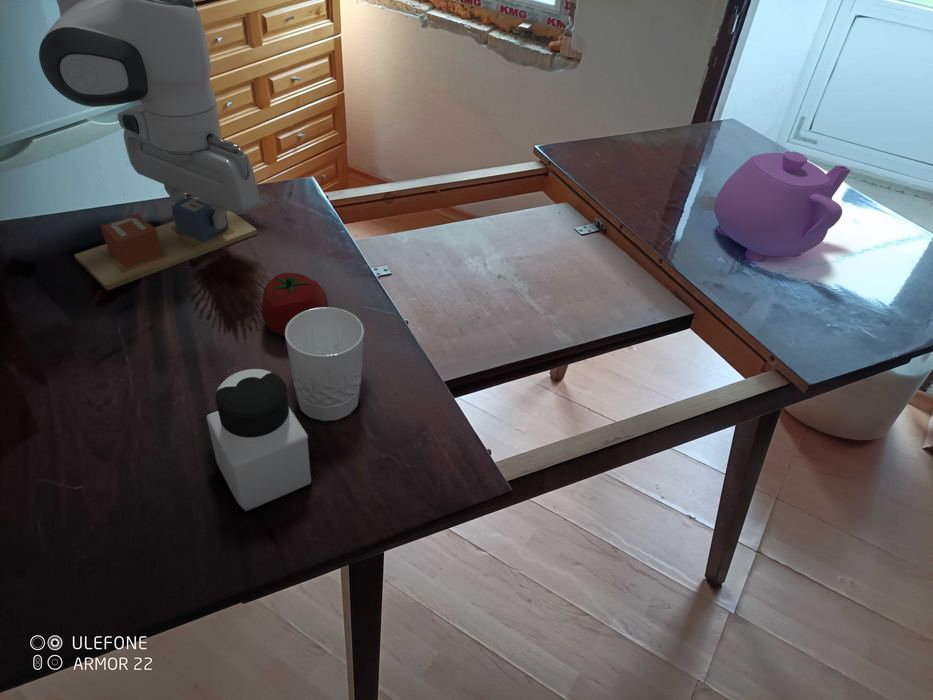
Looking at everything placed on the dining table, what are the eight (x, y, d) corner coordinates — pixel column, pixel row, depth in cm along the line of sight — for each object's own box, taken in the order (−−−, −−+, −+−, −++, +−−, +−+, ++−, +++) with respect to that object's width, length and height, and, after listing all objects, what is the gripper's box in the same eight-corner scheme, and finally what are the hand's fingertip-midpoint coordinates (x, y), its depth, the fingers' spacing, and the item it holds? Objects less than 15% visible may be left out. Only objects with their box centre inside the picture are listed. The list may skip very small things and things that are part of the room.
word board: (75, 259, 91) (73, 253, 91) (223, 209, 104) (222, 203, 103) (107, 290, 87) (105, 285, 86) (257, 234, 100) (256, 228, 99)
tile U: (108, 251, 92) (100, 225, 89) (144, 239, 95) (137, 213, 92) (126, 268, 89) (118, 241, 87) (162, 255, 92) (156, 228, 90)
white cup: (300, 372, 79) (294, 303, 72) (369, 378, 79) (368, 310, 73) (284, 422, 73) (276, 352, 66) (358, 428, 73) (357, 359, 67)
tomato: (268, 350, 81) (262, 302, 76) (258, 310, 87) (251, 263, 82) (335, 339, 84) (333, 291, 79) (321, 300, 89) (318, 254, 85)
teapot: (865, 272, 107) (915, 185, 98) (763, 288, 101) (806, 197, 91) (783, 209, 121) (819, 127, 111) (688, 220, 115) (718, 135, 105)
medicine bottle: (313, 484, 67) (305, 398, 60) (242, 514, 64) (224, 428, 56) (284, 436, 72) (273, 350, 64) (216, 463, 68) (196, 375, 60)
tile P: (202, 216, 100) (198, 191, 98) (228, 227, 99) (224, 202, 96) (176, 230, 97) (170, 205, 94) (203, 242, 95) (198, 216, 93)
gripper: (263, 139, 87) (274, 233, 96) (146, 97, 93) (166, 189, 102) (227, 156, 82) (242, 253, 91) (107, 111, 89) (132, 206, 98)
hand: (201, 219), depth 97 cm, fingers closed on tile P, 5 cm apart
